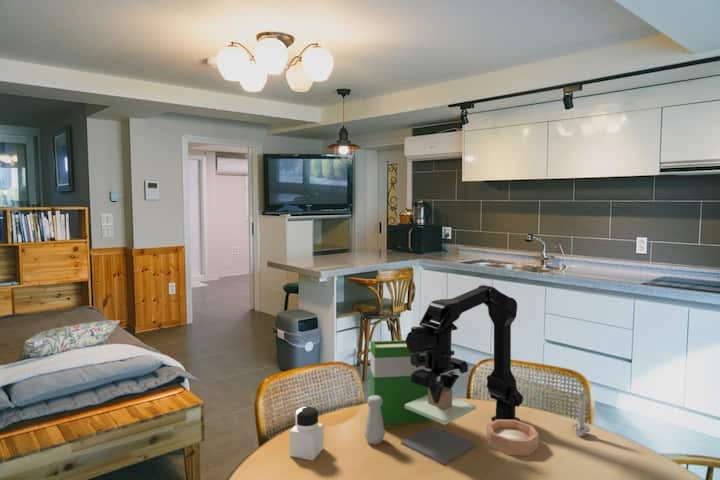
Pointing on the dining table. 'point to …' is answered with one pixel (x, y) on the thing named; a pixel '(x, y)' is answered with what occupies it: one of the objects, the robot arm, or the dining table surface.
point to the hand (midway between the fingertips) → (439, 401)
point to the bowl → (512, 437)
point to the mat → (439, 444)
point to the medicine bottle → (306, 435)
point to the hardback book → (395, 381)
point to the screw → (581, 418)
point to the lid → (440, 407)
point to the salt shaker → (374, 421)
